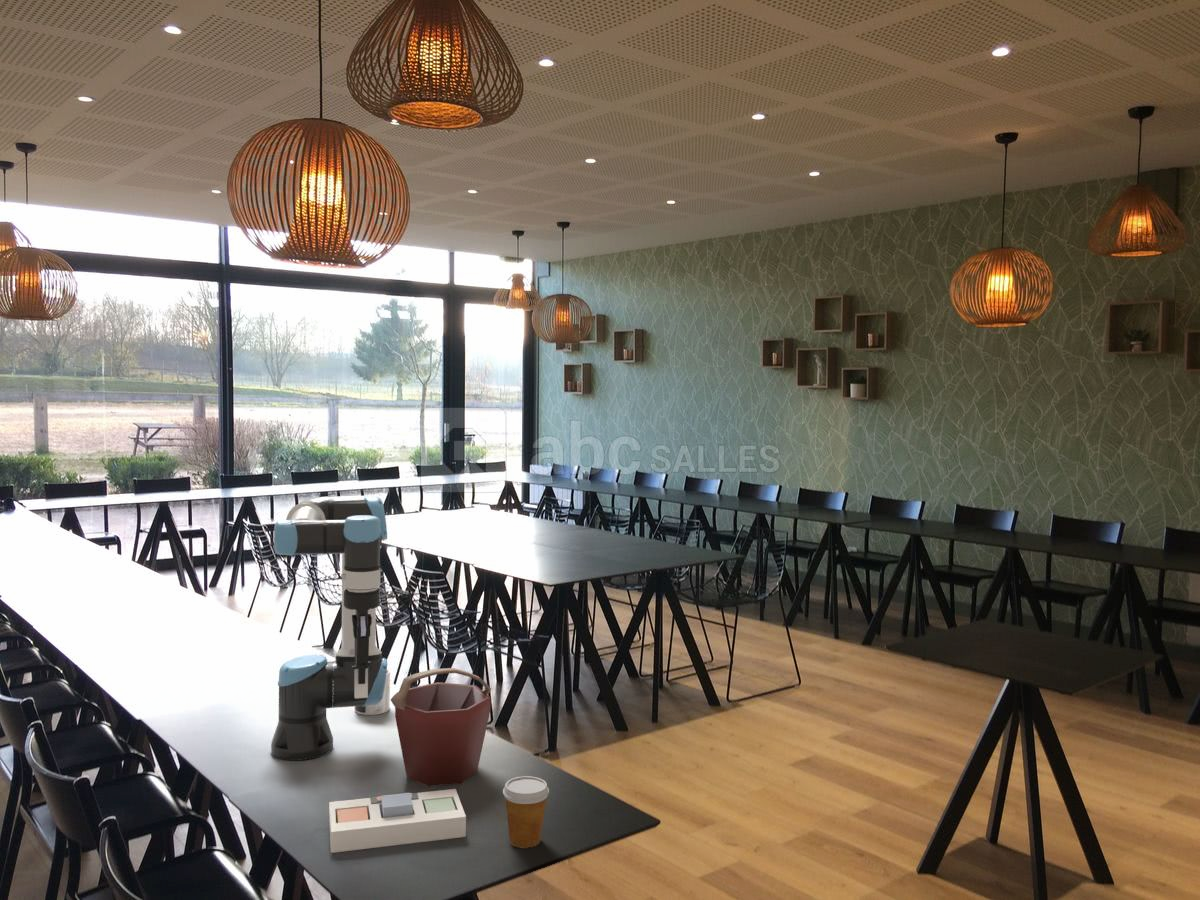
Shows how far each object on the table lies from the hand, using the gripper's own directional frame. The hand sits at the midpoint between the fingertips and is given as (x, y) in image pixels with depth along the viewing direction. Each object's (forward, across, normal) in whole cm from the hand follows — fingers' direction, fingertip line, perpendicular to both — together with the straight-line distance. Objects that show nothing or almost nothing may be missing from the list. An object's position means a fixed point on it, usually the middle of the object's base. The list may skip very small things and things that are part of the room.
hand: (361, 696), depth 202 cm
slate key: (+23, +8, +7) cm, 25 cm away
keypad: (+26, +8, +7) cm, 28 cm away
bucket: (+27, -20, +20) cm, 39 cm away
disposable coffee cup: (+27, +20, +32) cm, 46 cm away
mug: (+27, -67, +7) cm, 72 cm away
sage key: (+25, +8, +16) cm, 31 cm away
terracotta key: (+25, +8, -2) cm, 26 cm away
